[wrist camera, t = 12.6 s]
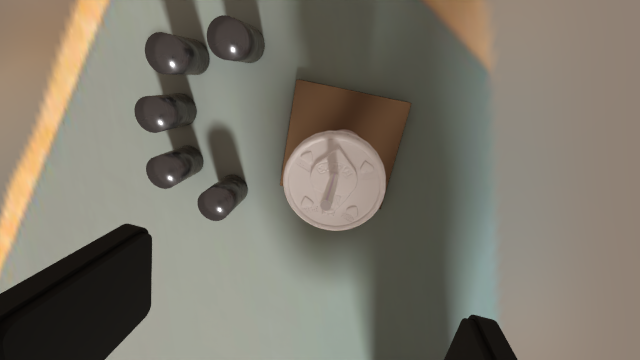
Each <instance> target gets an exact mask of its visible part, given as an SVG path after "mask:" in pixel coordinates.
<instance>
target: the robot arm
mask: <svg viewBox="0 0 640 360" xmlns="http://www.w3.org/2000/svg"><path fill="white" fill-rule="evenodd" d="M151 272H152V237H151V235H149V234H148V231H147V229H145V228H143V227H139V226H135V225H131V224H124V225H121V226H120V227H118V228H116V229H114V230H113V231H111V232H109V233H107V234H106V235H104V236H102V237H100V238H98V239H97V240H95V241H93V242H91V243H90V244H88V245H86V246H84V247H82V248H81V249H79V250H77V251H75V252H74V253H72V254H70V255H68V256H67V257H65V258H63V259H61V260H59V261H58V262H56V263H54V264H52V265H51V266H49V267H47V268H45V269H43V270H42V271H40V272H38V273H36V274H35V275H33V276H31V277H29V278H28V279H26V280H24V281H22V282H20V283H19V284H17V285H15V286H13V287H12V288H10V289H8V290H6V291H4V292H3V293H1V294H0V360H105V359H106V358H107V357H108V355H109V354H110V353H111V352H112V351H113V350H114V349H115V348H116V347H117V346H118V345H119V344H120V343H121V342H122V341H123V340H124V339H125V338H126V337H127V336H128V335H129V334H130V333H131V332H132V331H133V330H134V328H135V327H136V326H137V325H138V324H139V323H140V322H141V321H142V320H143V319H144V318H145V317H146V316H147V314H148V312H149V310H150V307H151ZM444 360H517V358H516V356H515V354H514V352H513V351H512V349H511V347H510V345H509V343H508V341H507V340H506V338H505V336H504V334H503V332H502V331H501V329H500V327H499V325H498V324H497V322H496V321H494V320H492V319H488V318H484V317H480V316H476V315H471V316H469V318H468V319H466V318H464V319H462V321H461V323H460V325H459V327H458V330H457V332H456V334H455V336H454V339H453V341H452V343H451V345H450V348H449V350H448V352H447V354H446V357H445V359H444Z"/></svg>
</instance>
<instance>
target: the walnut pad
mask: <svg viewBox="0 0 640 360" xmlns="http://www.w3.org/2000/svg"><path fill="white" fill-rule="evenodd" d="M410 107H411V103H409V102H404V101H399V100H394V99H390V98H385V97H380V96H375V95H371V94H366V93H361V92H356V91H352V90H347V89H342V88H337V87H332V86H328V85H323V84H318V83H313V82H309V81H304V80H296V87H295V93H294V99H293V106H292V112H291V118H290V125H289V131H288V138H287V144H286V150H285V157H284V163H283V169H282V176H281V182H280V185H281V186H283V175H284V170H285V166H286V164H287V161H288V159H289V158H290V156H291V154H292V153H293V151H294V149H295V148H296V147H297V146H298V145H299V144H300V143H301V142H302V141H303V140H305V139H307V138H309V137H310V136H312V135H314V134H316V133H321V132H325V131H337V130H342V129H345V130H350V131H353V132H354V133H356V134H357V135H358V136H359V137H360V138H362V139H363V140H365V141H367V142H368V143H369V144H370V145H371V146H372V147H373V148H374V149H375V151H376V152H377V153H378V155H379V157H380V159H381V161H382V163H383V165H384V170H385V175H386V187H385V192H386V189H387V185H388V182H389V179H390V175H391V172H392V168H393V165H394V161H395V158H396V155H397V151H398V148H399V144H400V141H401V137H402V134H403V131H404V127H405V124H406V120H407V117H408V114H409V110H410ZM384 196H385V194H384ZM383 199H384V198H383ZM382 203H383V200H382ZM382 203H381V205H380V207H379V208H378V209H381V206H382Z"/></svg>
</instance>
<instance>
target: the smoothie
mask: <svg viewBox="0 0 640 360" xmlns="http://www.w3.org/2000/svg"><path fill="white" fill-rule="evenodd" d="M283 186H284V191H285V195H286V198H287V200H288V202H289V204H290V206H291V207H292V209H293V210H294V211H295V212H296V214H297V215H298V216H299V217H301V218H302V219H303V220H304V221H306V222H307V223H309V224H311V225H313V226H315V227H318V228H321V229H325V230H331V231H341V230H348V229H351V228H355V227H357V226H359V225H361V224H363V223H364V222H366V221H367V220H369V219H370V218H371V217H372V216H373V215H374V214H375V213H376V211H377V210H378V208H379V207H380V205H381V203H382V200H383V198H384V194H385V187H386V175H385V170H384V165H383V163H382V161H381V159H380V157H379V155H378V153H377V152H376V151H375V149H374V148H373V147H372V146H371V145H370V144H369V143H368V142H367V141H365V140H363V139H362V138H360V137H359V136H358V135H357V134H356V133H354V132H353V131H350V130H345V129H342V130H337V131H325V132H321V133H316V134H314V135H312V136H310V137H309V138H307V139H305V140H303V141H302V142H301V143H300V144H299V145H298V146H297V147H296V148H295V149H294V151H293V153H292V154H291V156H290V158H289V159H288V161H287V164H286V166H285V170H284V175H283Z"/></svg>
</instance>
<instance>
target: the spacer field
mask: <svg viewBox="0 0 640 360" xmlns="http://www.w3.org/2000/svg"><path fill="white" fill-rule="evenodd" d="M207 41H208V45H209V47H210V49H211V51H212V52H213V53H214V54H215V55H216V56H217V57H219V58H221V59H224V60H231V61H239V62H246V63H252V62H255V61H257V60H258V59H260V57H261V56H262V54H263V52H264V47H265V44H264V39H263V36H262V35H261V33H260V32H259V31H258V30H257V29H256V28H254V27H252V26H250V25H248V24H245V23H243V22H241V21H239V20H237V19H235V18H232V17H230V16H219V17H217V18H215V19H214V20H213V21H212V22H211V23H210V25H209V27H208V30H207ZM145 54H146V58H147V61H148V62H149V64H150V65H151V67H152V68H153V69H154V70H156V71H157V72H159V73H162V74H185V75H199V74H202V73H203V72H205V71H206V69H207V68H208V65H209V53H208V51H207V49H206V47H205V46H204V45H203V44H202V43H201V42H199V41H197V40H193V39H189V38H184V37H180V36H176V35H171V34H167V33H162V32H158V33H154V34H152V35H151V36H150V37H149V38H148V40H147V42H146V45H145ZM196 113H197V111H196V106H195V104H194V102H193V101H192V99H191V98H190V97H188V96H187V95H184V94H169V95H157V96H145V97H142V98H140V99H139V100H138V101H137V103H136V105H135V117H136V119H137V121H138V123H139V124H140V126H141V127H142V128H144V129H145V130H147V131H149V132H153V133H157V132H161V131H165V130H169V129H173V128H177V127H180V126H184V125H188V124H190V123H192V122H193V121H194V120H195V118H196ZM202 167H203V157H202V155H201V153H200V152H199V151H198V150H197V149H196V148H194V147H192V146H183V147H180V148H178V149H175V150H172V151H169V152H167V153H164V154H161V155H159V156H156V157H153V158H152V159H150V160H149V161H148V163H147V166H146V172H147V175H148V178H149V179H150V181H151V182H152V183H153V184H154V185H156V186H157V187H160V188H164V189H167V188H171V187H173V186H174V185H176V184H178V183H180V182H182V181H183V180H185V179H187V178H189V177H191V176H192V175H194V174H196V173H198V172H199V171H200V170H201V169H202ZM247 192H248V189H247V185H246V183H245V182H244V180H243V179H242V178H240V177H238V176H236V175H228V176H226V177H224V178H223V179H221V180H220V181H219V182H217V183H216V184H214V185H213V186H211V187H210V188H209V189H207V190H206V191H204V192H203V193H202V194H201V195H200V196H199V198H198V208H199V210H200V212H201V213H202V214H203V215H204V216H205V217H206V218H208V219H210V220H213V221H219V220H222V219H224V218H225V217H226V216H227V215H228V214H229V213H230V212H231V211H232V210H233V209H234V208H235V207H236V206H237V205H238V204H239V203H240V202H241V201H242V200H243V199H244V198H245V197H246V195H247Z"/></svg>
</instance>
